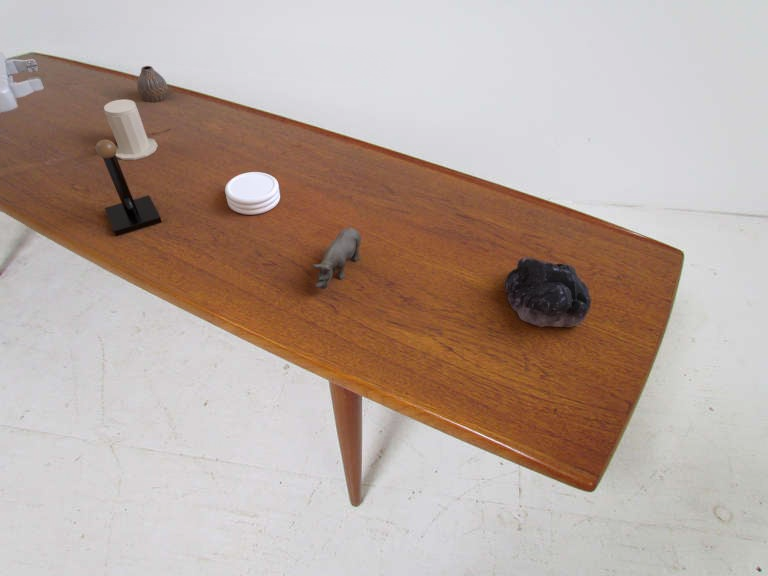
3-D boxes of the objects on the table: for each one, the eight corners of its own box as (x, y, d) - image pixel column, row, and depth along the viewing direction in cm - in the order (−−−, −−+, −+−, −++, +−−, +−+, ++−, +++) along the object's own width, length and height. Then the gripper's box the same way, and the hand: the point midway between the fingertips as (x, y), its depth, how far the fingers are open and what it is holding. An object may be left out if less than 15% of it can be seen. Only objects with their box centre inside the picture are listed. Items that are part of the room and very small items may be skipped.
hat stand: (116, 236, 88) (80, 158, 77) (106, 212, 92) (71, 136, 81) (162, 222, 91) (134, 145, 80) (150, 200, 96) (123, 124, 85)
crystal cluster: (527, 265, 86) (535, 219, 79) (605, 297, 80) (620, 250, 73) (487, 312, 80) (490, 267, 73) (567, 351, 73) (580, 306, 66)
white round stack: (268, 219, 92) (266, 204, 90) (219, 211, 94) (214, 195, 91) (287, 190, 99) (286, 174, 97) (241, 182, 101) (238, 167, 98)
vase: (163, 94, 128) (153, 59, 122) (177, 103, 124) (167, 68, 118) (138, 102, 124) (126, 67, 118) (151, 112, 121) (139, 76, 115)
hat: (118, 164, 104) (100, 119, 97) (109, 145, 110) (91, 102, 103) (161, 153, 108) (147, 109, 101) (151, 135, 113) (137, 92, 106)
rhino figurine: (304, 294, 79) (300, 267, 75) (345, 245, 88) (344, 217, 84) (326, 303, 78) (324, 275, 73) (366, 252, 87) (366, 224, 82)
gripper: (-65, 93, 77) (36, 76, 82) (-61, 50, 89) (26, 38, 94) (-41, 131, 81) (53, 113, 86) (-40, 85, 93) (42, 72, 99)
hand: (39, 73), depth 90 cm, fingers open, 8 cm apart
